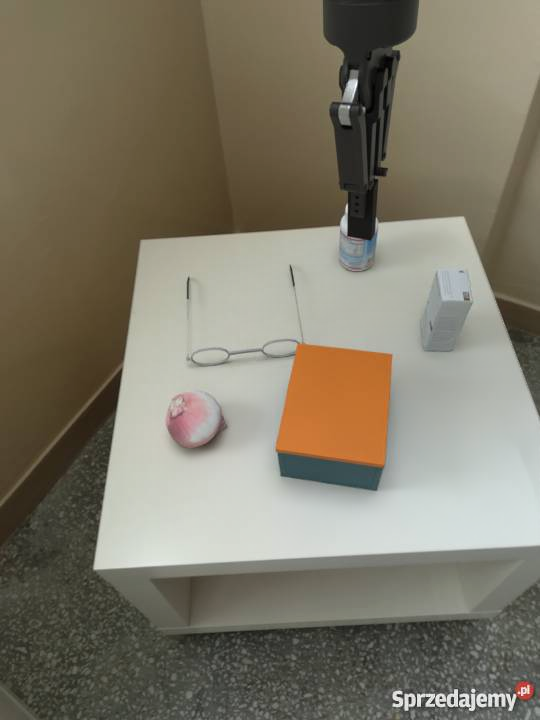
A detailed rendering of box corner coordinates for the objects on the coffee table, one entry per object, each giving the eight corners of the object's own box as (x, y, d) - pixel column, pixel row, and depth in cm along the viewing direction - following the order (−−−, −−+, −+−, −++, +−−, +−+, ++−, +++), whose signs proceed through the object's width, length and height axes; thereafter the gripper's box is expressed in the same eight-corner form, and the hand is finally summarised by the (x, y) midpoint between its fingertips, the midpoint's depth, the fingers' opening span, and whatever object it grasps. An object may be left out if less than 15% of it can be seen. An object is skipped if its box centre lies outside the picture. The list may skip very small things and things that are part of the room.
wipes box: (376, 491, 68) (383, 467, 62) (280, 476, 70) (276, 451, 64) (385, 387, 76) (391, 357, 70) (299, 377, 78) (297, 346, 72)
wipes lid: (384, 468, 60) (384, 465, 60) (275, 452, 62) (275, 448, 62) (391, 357, 70) (392, 353, 69) (297, 346, 72) (297, 342, 71)
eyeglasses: (188, 369, 80) (183, 354, 77) (188, 280, 91) (183, 263, 88) (306, 355, 80) (305, 339, 77) (291, 267, 91) (290, 250, 88)
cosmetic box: (419, 320, 83) (434, 265, 73) (449, 320, 82) (467, 265, 72) (423, 353, 79) (439, 300, 69) (454, 353, 79) (474, 300, 69)
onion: (181, 401, 78) (169, 375, 72) (232, 407, 76) (225, 381, 70) (166, 451, 73) (153, 428, 67) (220, 459, 72) (211, 436, 66)
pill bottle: (364, 242, 93) (369, 190, 83) (380, 265, 89) (388, 213, 80) (332, 253, 92) (334, 201, 83) (347, 277, 89) (351, 226, 79)
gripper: (352, -44, 46) (347, 197, 63) (293, 6, 38) (307, 264, 56) (440, -45, 43) (410, 207, 61) (396, 9, 36) (376, 278, 53)
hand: (361, 234), depth 58 cm, fingers closed
